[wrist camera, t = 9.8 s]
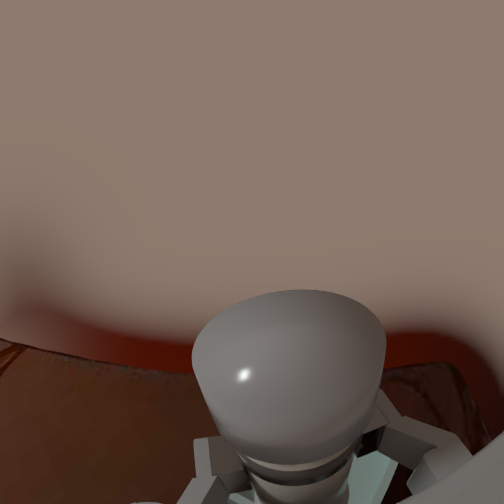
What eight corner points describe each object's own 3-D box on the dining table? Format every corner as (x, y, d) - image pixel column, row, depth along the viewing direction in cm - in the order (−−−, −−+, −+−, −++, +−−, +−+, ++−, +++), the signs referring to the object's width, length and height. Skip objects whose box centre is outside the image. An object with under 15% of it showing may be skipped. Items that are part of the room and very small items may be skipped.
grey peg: (247, 531, 10) (155, 389, 6) (274, 467, 14) (235, 287, 9) (334, 546, 8) (383, 426, 4) (352, 477, 12) (384, 290, 8)
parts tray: (214, 495, 21) (206, 484, 20) (280, 416, 30) (278, 400, 29) (349, 554, 13) (355, 550, 12) (400, 452, 22) (407, 438, 21)
